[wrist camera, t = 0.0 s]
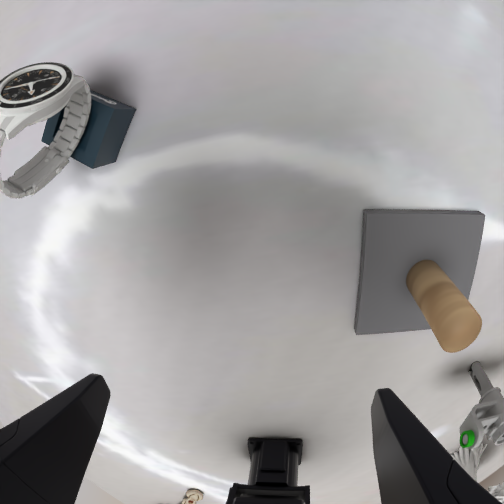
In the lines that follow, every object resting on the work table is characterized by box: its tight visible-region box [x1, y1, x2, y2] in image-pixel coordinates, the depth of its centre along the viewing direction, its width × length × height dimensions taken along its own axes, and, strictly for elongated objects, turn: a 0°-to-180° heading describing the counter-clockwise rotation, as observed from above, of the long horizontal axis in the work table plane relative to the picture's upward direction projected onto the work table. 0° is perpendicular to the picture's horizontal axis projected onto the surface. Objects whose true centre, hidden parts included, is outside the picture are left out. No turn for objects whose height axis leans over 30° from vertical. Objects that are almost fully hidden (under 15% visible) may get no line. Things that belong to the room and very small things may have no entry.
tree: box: [451, 443, 504, 504], centre depth 25 cm, size 18×16×17 cm
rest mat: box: [354, 210, 485, 335], centre depth 21 cm, size 10×10×1 cm
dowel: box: [406, 260, 482, 353], centre depth 18 cm, size 3×3×7 cm
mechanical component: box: [460, 362, 504, 449], centre depth 21 cm, size 3×10×10 cm, turn 90°
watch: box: [0, 62, 136, 199], centre depth 15 cm, size 6×8×11 cm
